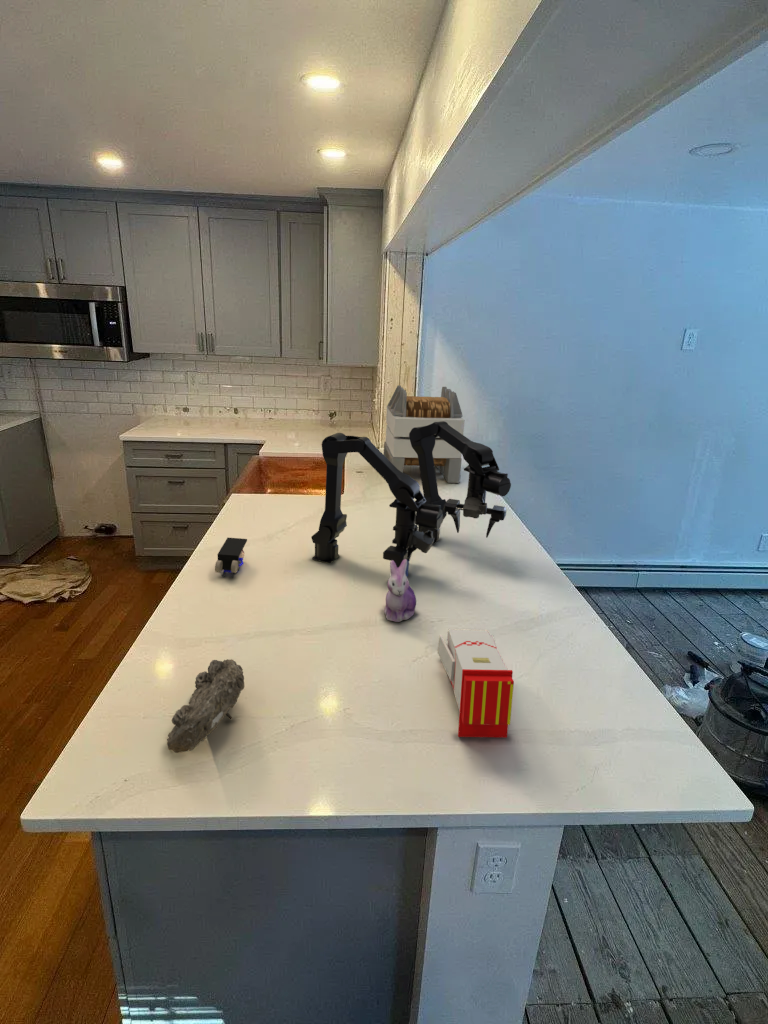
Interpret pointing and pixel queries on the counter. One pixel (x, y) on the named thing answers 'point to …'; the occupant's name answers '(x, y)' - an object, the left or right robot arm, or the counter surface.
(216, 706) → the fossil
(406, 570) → the canister
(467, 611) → the counter surface
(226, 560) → the black wheeled cart
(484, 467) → the right robot arm
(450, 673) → the toy
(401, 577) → the figurine
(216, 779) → the counter surface
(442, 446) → the grey crate with roll
